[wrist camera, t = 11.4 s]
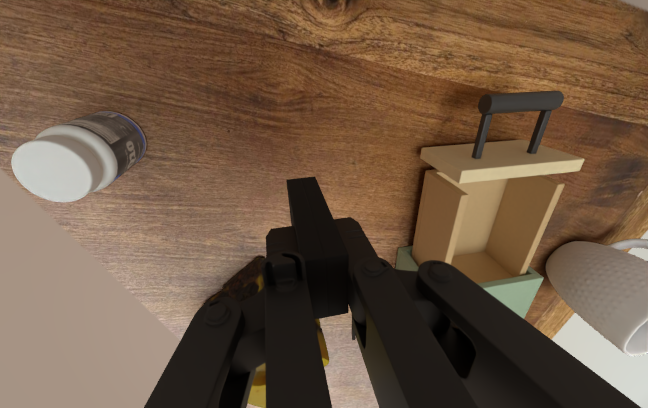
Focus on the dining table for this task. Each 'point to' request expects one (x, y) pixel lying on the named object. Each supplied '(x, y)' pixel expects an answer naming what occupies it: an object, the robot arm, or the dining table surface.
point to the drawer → (491, 194)
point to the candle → (242, 289)
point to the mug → (605, 289)
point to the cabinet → (493, 284)
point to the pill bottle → (79, 156)
